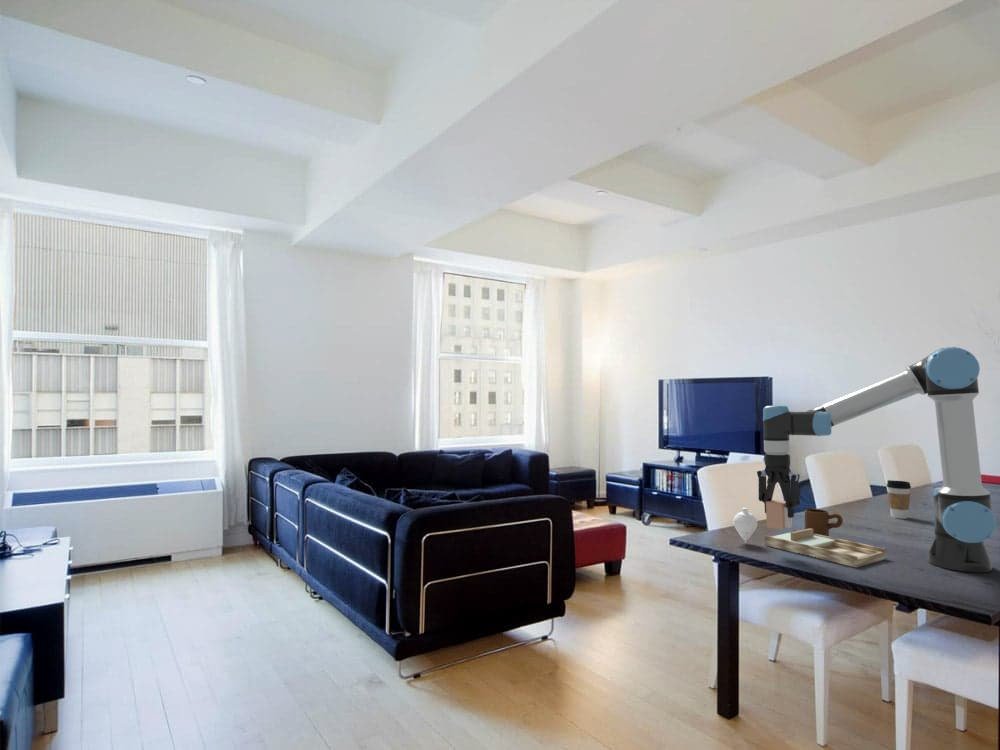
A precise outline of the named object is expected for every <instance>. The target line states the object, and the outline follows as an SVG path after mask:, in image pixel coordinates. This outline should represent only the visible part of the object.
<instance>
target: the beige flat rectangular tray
mask: <svg viewBox="0 0 1000 750" xmlns="http://www.w3.org/2000/svg"><path fill="white" fill-rule="evenodd" d="M795 531H799V529H792V532H795ZM813 535H815V536H819V537H824V538H829V539H833V540H836V542H833V543H828V544H824V545H820V546H816V547H815V546H810V545H806V544H802V543H797V542H793V541H789V540H784V539H780V538H776V537H772V536H770V535H764V546H768V547H772V548H775V549H780V550H784V551H786V552H787V551H788V552H791V553H796V554H799V553H800V555H803V554H804V555H803V556H807V555H809V556H808V557H811V556H812V558H815V557H816V559H819V558H820V560H823V561H826V562H827V561H828V562H832V563H835V562H836V563H837V564H839V565H840V564H841V565H844V566H847V567H852V568H860V567H863V566H867V565H870V564H873V563H877V562H880V561H883V560H886V557H887V556H886V555H887V554H886V548H883V547H879V546H875V545H869V544H865V543H861V542H856V541H853V540H852V541H851V540H846V539H841V538H837V537H834V536H833V537H832V536H829V537H828V536H823V535H819V534H814V533H813Z"/></svg>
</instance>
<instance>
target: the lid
mask: <svg viewBox="0 0 1000 750" xmlns="http://www.w3.org/2000/svg"><path fill="white" fill-rule="evenodd" d="M798 530H799V529H798ZM771 537H776V538H780V539H784V540H789V541H793V542H797V543H802V544H806V545H810V546H815V547H816V546H820V545H824V544H828V543H833V542H836V540H833V539H829V538H824V537H819V536H815V535H813V529H811V528H809V529H805V528H804V529H801V530H799V531H795V532H793V531H791V532H786V533H782V534H778V535H772V536H771Z"/></svg>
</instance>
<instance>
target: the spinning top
mask: <svg viewBox="0 0 1000 750" xmlns="http://www.w3.org/2000/svg"><path fill="white" fill-rule="evenodd" d="M732 523H733V526H734V528H735V529H736V531H737V533H738V534H739V537H741V539H742V540H743V541H744V543H745V544H747V541H748V540H749V539H750V537H751V536H752V535H753V534H754V532H755V530H756V529H757V527H758V520H757V518H756V516H754V514H752V513H751V512H749V508H748V507H742V508H741V511H740V512H738V513H736V514H735V516H734V517H733V522H732Z"/></svg>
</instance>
